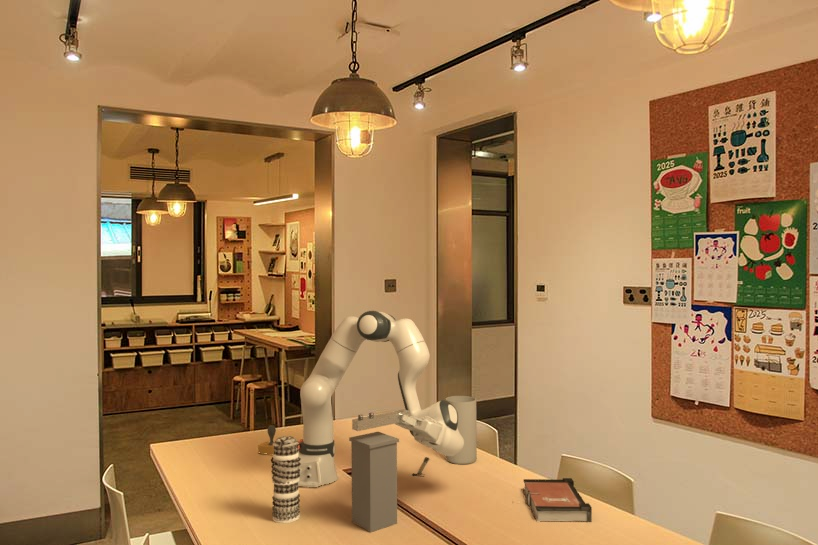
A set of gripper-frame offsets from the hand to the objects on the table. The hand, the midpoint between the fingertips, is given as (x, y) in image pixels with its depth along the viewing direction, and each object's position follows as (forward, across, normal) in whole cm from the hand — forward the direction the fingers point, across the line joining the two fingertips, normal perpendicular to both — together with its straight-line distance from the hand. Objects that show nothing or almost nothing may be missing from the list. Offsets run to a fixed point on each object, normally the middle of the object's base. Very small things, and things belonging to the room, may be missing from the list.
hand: (397, 415), depth 192 cm
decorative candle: (+9, -20, +42) cm, 47 cm away
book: (-55, +26, +6) cm, 61 cm away
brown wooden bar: (+4, 0, +5) cm, 7 cm away
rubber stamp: (-15, -86, +29) cm, 92 cm away
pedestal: (-8, 0, +32) cm, 33 cm away
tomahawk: (-48, -30, +10) cm, 57 cm away
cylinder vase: (-63, -28, +1) cm, 68 cm away
